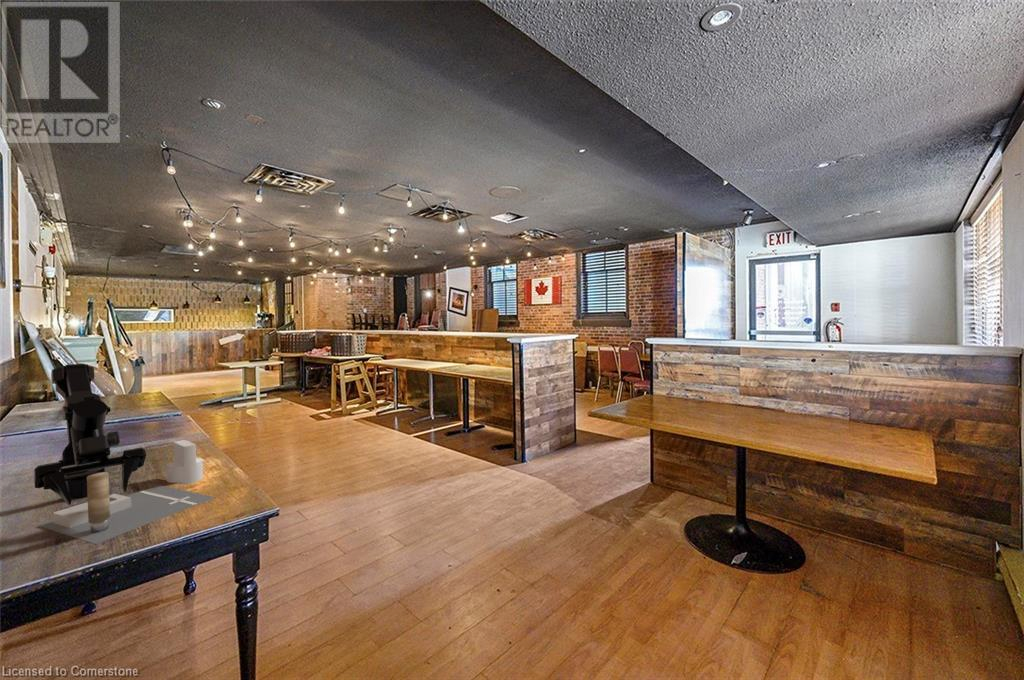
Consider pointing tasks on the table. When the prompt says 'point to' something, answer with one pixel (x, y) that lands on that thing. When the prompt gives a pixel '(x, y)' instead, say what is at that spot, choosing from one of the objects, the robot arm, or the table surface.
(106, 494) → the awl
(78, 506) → the white flat block
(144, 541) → the table surface
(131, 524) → the floor panel
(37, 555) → the table surface
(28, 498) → the table surface
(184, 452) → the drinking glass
